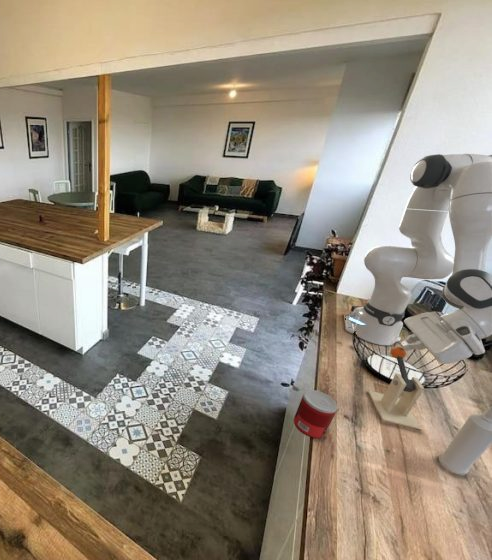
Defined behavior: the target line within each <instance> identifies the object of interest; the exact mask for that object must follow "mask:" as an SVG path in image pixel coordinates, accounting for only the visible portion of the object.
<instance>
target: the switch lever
mask: <svg viewBox="0 0 492 560" xmlns="http://www.w3.org/2000/svg"><path fill="white" fill-rule="evenodd" d="M389 353H390V355H391V356H392V357H393V358H395V359H396V361H397V366H398V369H399V372H400V375H401V377H402V378H403V380H404V381H405V383H406V384H407V385H406V386H405V388H404V390H403V391H402V392H404V391H407V392H412V391H413V390H415V386H414V383H413V380H411V379H409V376H408V372H407V369H406V365H405V360H404V358H405V357H406V356H407V351H405V350H404V349H403V348H402V346H394V347H392V348H390V351H389Z"/></svg>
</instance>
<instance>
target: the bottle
mask: <svg viewBox="0 0 492 560" xmlns="http://www.w3.org/2000/svg"><path fill="white" fill-rule="evenodd" d="M491 445H492V405H490V406H489V408H488V409H487V410H486V412H485V413H481V414H478V413H472V414H470V415H469V417H468V418H467V419H466V421H465V422H464V424H463V425H462V427H461V428H460V429H459V430H458V432H457V433H456V435H455V436H454V438H453V439H452V441H451V442H450V444H449V445H448V446H447V448H446V449H445V450H444V452H443V453H441V454H440V455H439V456H438V461H439V463H440V464H441V465H442V466H443V467H444V468H445V469H446V470H448V471H450V472H452V473H454V474H457V475H459V476H466V475H467V474H468V473H469V471H470V468H471V467H472V466H473V465H474V464H475V462H477V460H478V459H479V458H480V457H481V456H482V455H483V454H484V453H485V452H486V450H488V448H490V446H491Z"/></svg>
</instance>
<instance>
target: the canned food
mask: <svg viewBox="0 0 492 560" xmlns="http://www.w3.org/2000/svg"><path fill="white" fill-rule="evenodd" d="M337 411H338V404H337V402H336V401H335V400H334V398H332V397H331V396H330V395H328V394H326V393H324V392H322V391H320V390H315V389H309V390H305V391H304V393H303V394H302V397H301V399H300V402H299V404H298V407H297V409H296V413H295V414H294V417H293V424H294V426H295V428H296V429H297V430H298V431H299V432H300V433H302V434H303V435H304V436H306V437H309V438H312V439H321V438H323V437H324V436H325V435H326V433H327V432H328V429H329V427H330V425H331V423H332V421H333V420H334V417H335V415H336V413H337Z"/></svg>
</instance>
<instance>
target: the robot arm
mask: <svg viewBox="0 0 492 560" xmlns="http://www.w3.org/2000/svg"><path fill="white" fill-rule="evenodd" d="M409 178H410V182H411V184H412V185H413V186H414V188H413V191H412V193H411V194H410V196H409V198H408V200H407V203H406V205H405V208H404V210H403V214H402V217H401V219H400V222H399V225H398V230H399V232H400V233H401V234H402V235H403V236H404V237H406V238H408V239H409V240H410V243H411V244H410V247H405V246H393V245H383V246H382V245H381V246H374V247H372V248H371V249H369V250H368V251H367V252H366V253H365V255H364V259H363V264H364V266H365V268H366V269H367V270H368V271H369V272H370V273H371V275H372V276H373V279H374V288H373V291H372V293H371V296H370V298H367V300H366V302H365V304H364V305H363V306H362V305H352V306H351V308H350V312H349V313H348V314H349V316H346V317H345V314H344V315H343V320H344V328H345V331H346V332H348V333H349V334H353V333H354V331H356V332H357V336H356V337H357V338H360V339H362V340H363V341H365V342H368V343H371V344H375V345H379V346H393V345H394V344H395V343H398V344H399V345H400V347H401V348H403V349H404V350H405V351H406V352H409V351H413V350H414V351H415V350H418V351H419V350H420V351H421V350H425V349H426V350H427V351H428V352H429V353H430V354H431V355H432V357H433V358H434V360H436V361H437V362H438V363H439V364H443V365H451V364H453V363H457V362H460V361H463V360H467V359H469V358H470V357H472V356H473V354H474V355H476V356H479V355H482V354H485V353H486V350H485V346H484V344H483V341H482V339H486V338H488V337H490V336H492V274H490V273H488V272H487V271H485V270H486V259H487V251H488V247H489V244H490V241H492V154H489V155H486V154H477V153H457V154H439V153H438V154H430V155H425V156H423V157H422V158H420V159H419V160H418V161H416V163H415V164H414V166H413V167H412V169H411V171H410V175H409ZM447 216H448V217H449V223H450V227H451V233H452V235H453V240H454V241H453V242H454V257H453V256H452V254H450V253H449V252H448V251H447V250H446V248H445V246H444V245H443V240H442V234H443V233H442V232H443V228H444V224H445V222H446V219H447ZM448 276H449V278H448V279H447V281H446V283H445V284H444V286H443V288H442V290H441V295H442V298H443V300H444V302H446V303H447V304H448V305H450V306H451V307H453V308H456V310H454V311H451V312H449V313H443V312H442V311H427V312H422V313H418V314H415V315H412V316H409V317H407V318H405V314H406V310H407V309H406V308H407V307H408V305H409V303H410V301H411V299H412V296H413V295H412V291H411V290H410V288H409V287H407V286H406V285H405V284H403V283H401V281H402V279H403V278H412V279H417V280H418V279H419V280H442V279H446V278H447V277H448ZM345 318H346V320H345ZM403 318H405V319H404V320H403ZM402 320H403V321H402ZM404 324H405V326H406V327H407V328H408V329H409V330H410V331H411V333H412V334H409V335H408V336H407V337H406V338H405V339H403V340H402V338H401V336H400V334H401V331H402V328H403V326H404ZM353 335H354V334H353Z"/></svg>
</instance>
